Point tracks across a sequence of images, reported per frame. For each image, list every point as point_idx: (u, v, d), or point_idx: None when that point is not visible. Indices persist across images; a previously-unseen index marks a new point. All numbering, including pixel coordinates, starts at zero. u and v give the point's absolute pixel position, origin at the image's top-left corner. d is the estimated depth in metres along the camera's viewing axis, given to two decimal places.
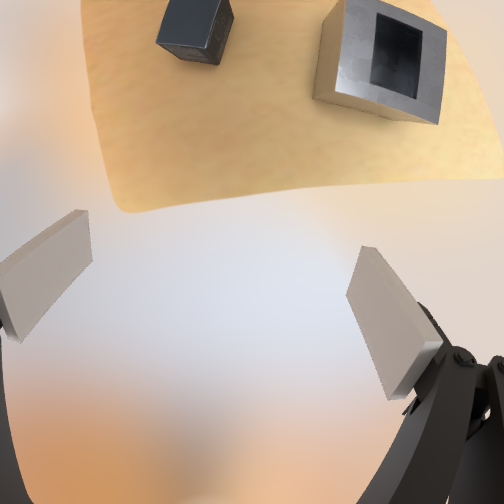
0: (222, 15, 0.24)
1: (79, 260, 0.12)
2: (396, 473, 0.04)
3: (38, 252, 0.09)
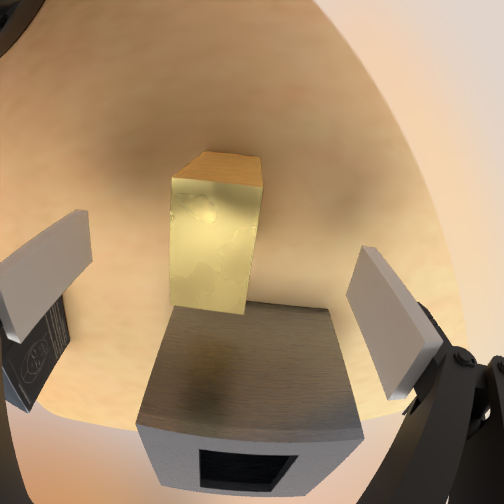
0: (26, 357, 0.17)
1: (79, 260, 0.12)
2: (396, 473, 0.04)
3: (38, 252, 0.09)
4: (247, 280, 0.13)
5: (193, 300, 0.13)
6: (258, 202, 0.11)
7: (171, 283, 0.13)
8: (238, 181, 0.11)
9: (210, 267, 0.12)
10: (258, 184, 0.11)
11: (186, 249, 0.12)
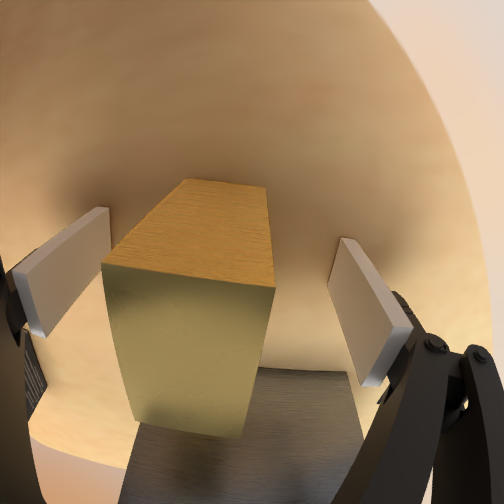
0: None
1: (100, 256, 0.13)
2: (371, 464, 0.04)
3: (64, 247, 0.09)
4: (245, 409, 0.07)
5: (166, 421, 0.08)
6: (265, 312, 0.06)
7: (131, 402, 0.07)
8: (226, 266, 0.06)
9: (186, 393, 0.07)
10: (265, 273, 0.06)
11: (144, 370, 0.07)
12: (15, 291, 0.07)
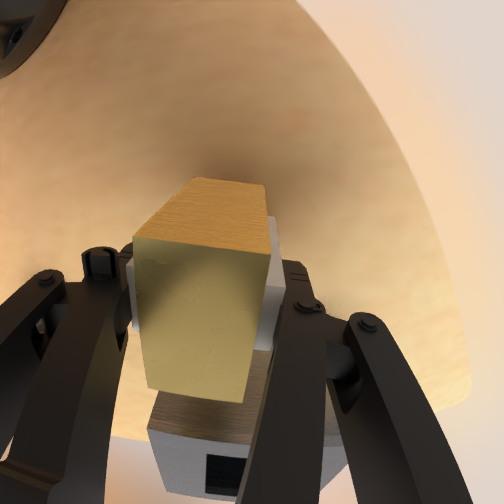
0: None
1: None
2: (255, 440, 0.05)
3: None
4: (247, 370, 0.09)
5: (176, 387, 0.09)
6: (263, 275, 0.07)
7: (146, 367, 0.09)
8: (233, 240, 0.08)
9: (196, 354, 0.09)
10: (263, 245, 0.08)
11: (161, 332, 0.08)
12: (127, 287, 0.09)
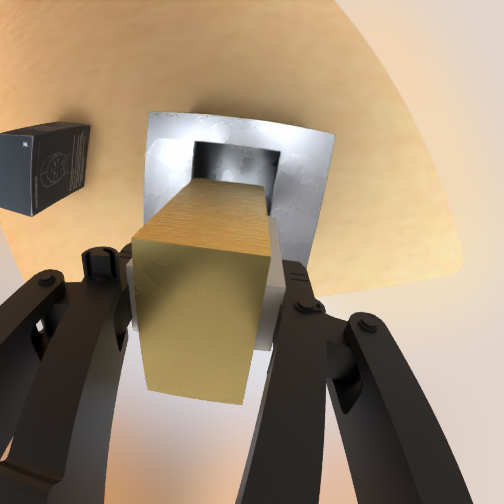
0: (50, 157, 0.22)
1: None
2: (255, 440, 0.05)
3: None
4: (247, 372, 0.09)
5: (176, 389, 0.09)
6: (263, 277, 0.07)
7: (146, 369, 0.09)
8: (232, 242, 0.08)
9: (196, 356, 0.09)
10: (263, 247, 0.08)
11: (161, 334, 0.08)
12: (127, 287, 0.09)
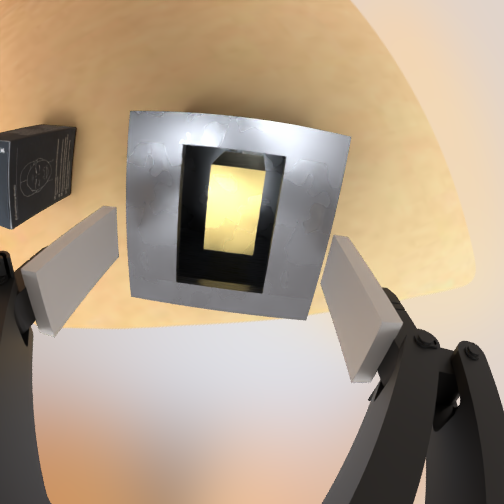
0: (30, 164, 0.19)
1: (107, 255, 0.13)
2: (361, 462, 0.04)
3: (73, 246, 0.09)
4: (255, 230, 0.20)
5: (219, 245, 0.21)
6: (262, 180, 0.18)
7: (206, 233, 0.20)
8: (250, 168, 0.19)
9: (232, 221, 0.20)
10: (262, 169, 0.19)
11: (217, 209, 0.19)
12: (24, 290, 0.07)
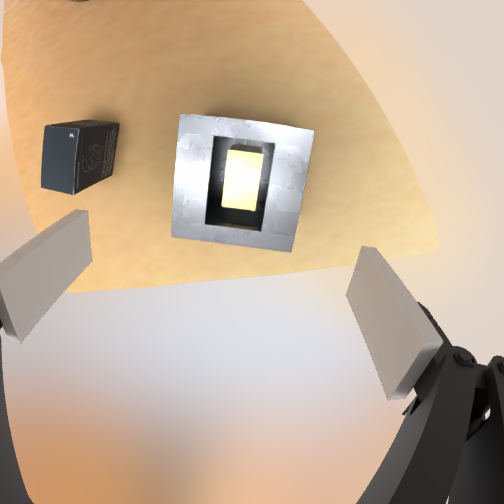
0: (90, 147, 0.29)
1: (79, 260, 0.12)
2: (396, 473, 0.04)
3: (38, 252, 0.09)
4: (256, 193, 0.30)
5: (232, 203, 0.30)
6: (261, 159, 0.28)
7: (223, 195, 0.30)
8: (253, 152, 0.29)
9: (241, 187, 0.30)
10: (261, 153, 0.29)
11: (232, 179, 0.29)
12: None
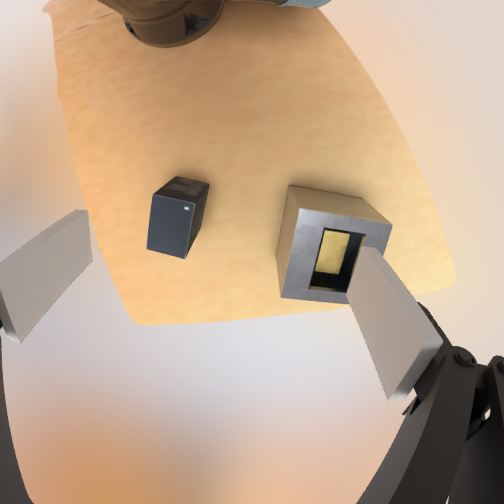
0: (196, 215, 0.38)
1: (79, 260, 0.12)
2: (396, 473, 0.04)
3: (38, 252, 0.09)
4: (341, 261, 0.39)
5: (323, 269, 0.39)
6: (348, 238, 0.37)
7: (317, 263, 0.39)
8: (342, 231, 0.38)
9: (331, 257, 0.39)
10: (347, 232, 0.38)
11: (325, 252, 0.38)
12: None
